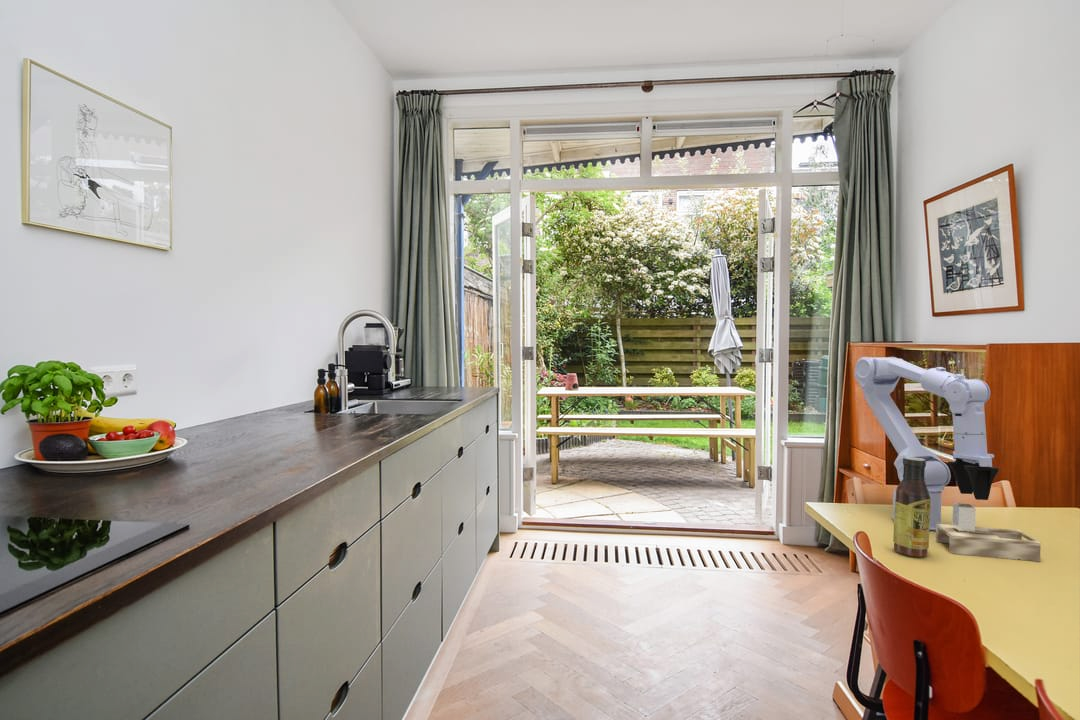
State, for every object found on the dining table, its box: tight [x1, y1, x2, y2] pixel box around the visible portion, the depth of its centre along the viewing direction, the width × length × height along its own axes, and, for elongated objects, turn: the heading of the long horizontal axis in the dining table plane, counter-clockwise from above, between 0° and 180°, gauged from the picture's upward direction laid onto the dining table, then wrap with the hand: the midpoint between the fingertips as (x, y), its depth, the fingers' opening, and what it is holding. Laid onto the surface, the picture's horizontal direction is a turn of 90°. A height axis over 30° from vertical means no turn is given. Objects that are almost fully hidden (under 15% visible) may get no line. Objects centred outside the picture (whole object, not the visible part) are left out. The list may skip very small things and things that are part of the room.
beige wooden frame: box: [935, 523, 1042, 562], centre depth 121 cm, size 16×8×4 cm, turn 74°
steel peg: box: [951, 502, 977, 533], centre depth 122 cm, size 4×4×9 cm
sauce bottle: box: [892, 457, 931, 558], centre depth 119 cm, size 6×6×20 cm
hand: (973, 496), depth 124 cm, fingers open, 7 cm apart
